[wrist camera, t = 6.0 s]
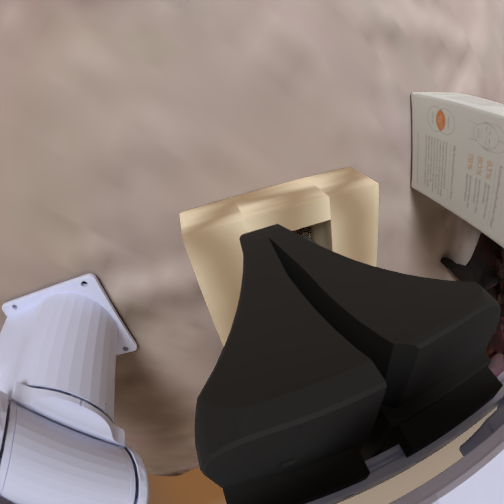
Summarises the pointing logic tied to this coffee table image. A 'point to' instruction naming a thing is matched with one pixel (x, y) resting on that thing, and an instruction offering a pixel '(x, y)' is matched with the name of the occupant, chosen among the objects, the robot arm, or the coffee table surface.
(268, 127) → the coffee table surface
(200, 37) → the coffee table surface
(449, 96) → the small box
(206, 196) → the coffee table surface
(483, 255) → the flower arrangement
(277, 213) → the button board
